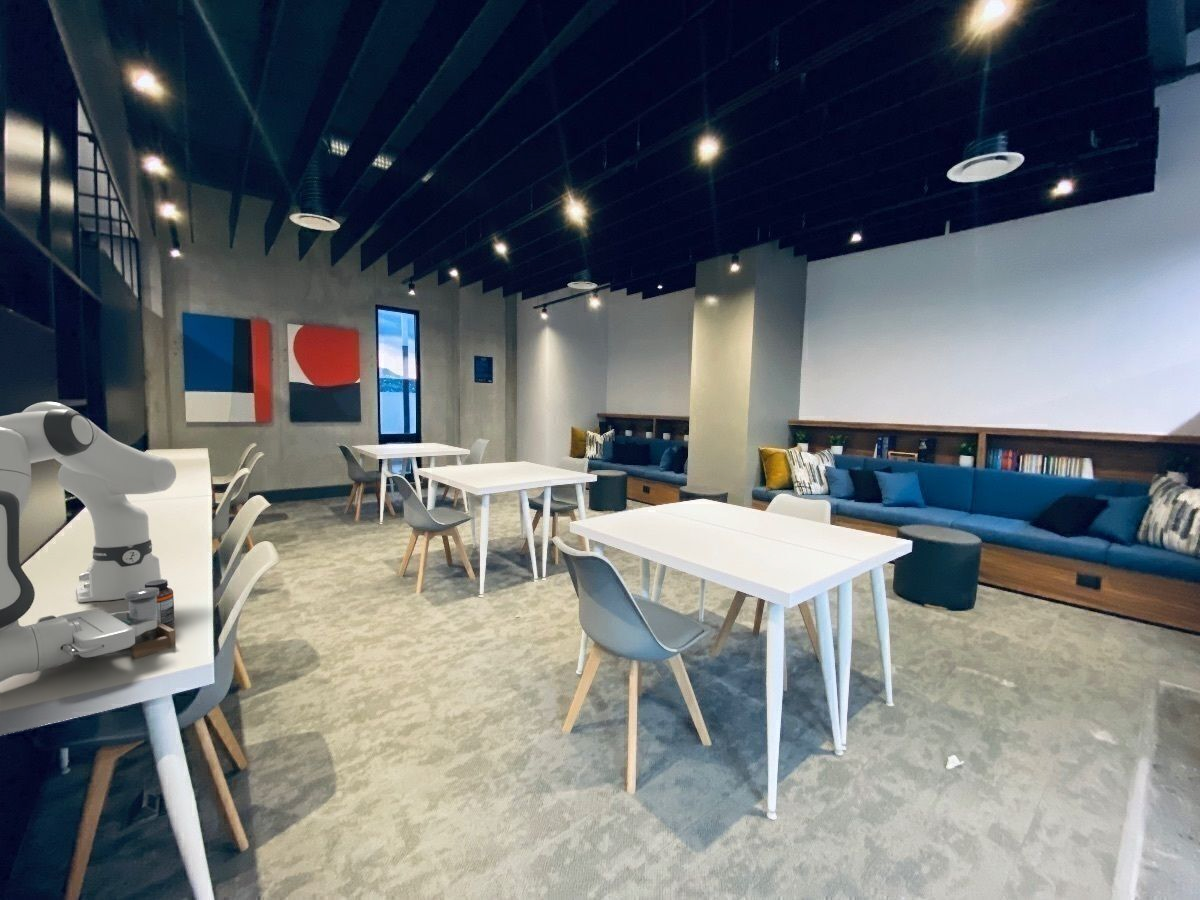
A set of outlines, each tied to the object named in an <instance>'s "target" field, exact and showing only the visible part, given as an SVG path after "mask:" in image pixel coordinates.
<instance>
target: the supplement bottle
mask: <svg viewBox="0 0 1200 900" xmlns="http://www.w3.org/2000/svg"><path fill="white" fill-rule="evenodd" d="M168 583H169V582H168V579H167V580H154V581H150V582H147V583H145V588H151V587H155V588H159V595H157V596H156V600H157V621H158V622H160V623H162V624H164V625H166V626H168V627H170V628H172V627H173V626H174V625H175V604H174V603H175V601H174V590H173V589H172V588H171V587H168V586H169V584H168Z"/></svg>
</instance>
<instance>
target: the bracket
mask: <svg viewBox="0 0 1200 900" xmlns="http://www.w3.org/2000/svg"><path fill="white" fill-rule="evenodd" d="M157 622H158V621H157ZM173 647H176V630H175V629H174V628H172V627H171V628H170V627H168V626H166V625H164V624H162V623H160V622H158V638H157V639H153V640H150V641H146V642H143V643H140V644H136V645H133V646H132V652H131V657H132V658H133V659H134V660H135V659H139V658H142V657H145V656H148V655H151V654H155V653H158V652H161V651H164V650H168V649H171V648H173ZM129 648H130V649H131V647H128V648H126V649H129ZM126 649H122V650H121V651H123V650H126Z"/></svg>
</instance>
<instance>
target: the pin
mask: <svg viewBox="0 0 1200 900" xmlns="http://www.w3.org/2000/svg"><path fill="white" fill-rule="evenodd" d="M157 595H159V588H155V587H151V588H142V589H137V590H133V591H130V592H128V593H126V594H125V598H124V600H125V601H128V611H129V618H130V626H131V625H137V624H140V623H143V621H146V620H150V619H154V620H156V621H157V600H156V596H157ZM157 638H158V622H157V627H156V628H155V629H151V630H148V631H146V632H144V633H142V634H140V635H138V636H135V644H134V645H136V644H140V643H143V642H146V641H150V640H153V639H157ZM132 646H133V645H132ZM132 646H131V647H130V651H131V653H132Z"/></svg>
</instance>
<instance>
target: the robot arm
mask: <svg viewBox="0 0 1200 900" xmlns="http://www.w3.org/2000/svg"><path fill="white" fill-rule="evenodd" d="M53 459H54V460H55V461H57V462H58V463H59V464H61V466H60V468H59V470H58V473H57V474H58V475H57V478H58V483H59V484H60V486H61V487H62V488H63V489H64V491H66V492H67V493H71V494H72V495H74V496H75V497H76V498H77V499H78V500H79V501H81V503H82V504H83V505H84V506H85V508H86V509H87V511H88V512H89V514H90V517H91V520H92V527H93V533H94V546H93V548H92V559H93V561H92V562H91V563H90V564H89V566H88V567H87V569H86V572H83V573H79V574H78V578H79V579H78V581H79V583H83V582H84V583H83V584H82V585H78V586H76V587H75V588H76V589H75V591H76V597H77V601H78V603H85V602H86V603H88V602H97V601H103V602H105V601H113V600H114V601H115V600H121V599H125V594H126V593H128V592H130V591H133V590H137V589H142V588H145V583H147V582H150V581H154V580H167V581H168V579H166V578H162V575H161V568H160V566H161V565H160V559H159V557H158V556H156V555H154V554H153V553H152V552H153V543H152V540H151V539H150V528H149V515H148V514H147V512H146V511H145V510H144V509H142V508H140V507H137V506H135V505H134V504H132V503H131V502H130V501H129V500H128V498H127V496H126V495H148V494H154V493H159V492H164V491H167V490H169V489H170V488H171V487H172V486H173V484H174V482H175V481H176V478H177V470H176V467H175V465H174V463H173V462H172V461H171V460H170V459H169V458H165V457H162V456H158V455H153V454H150V453H147V452H145V451H142V450H139V449H137V448H135V447H132V446H129V445H128V444H125V443H123V442H120V441H118V440H117V439H114V438H113V437H111V436H110V435H109V434H108V433H106V432H105V431H104V430H102V429H101V428H100V427H99V426H98V425H96V424H95V423H94V422H92V420H90V419H89V418H88V417H86V416H85V415H83V414H81V413H79V411H77V410H74V409H73V408H71V407H69V406H67V405H65V404H63V403H60V402H54V401H41V402H37V403H34V404H32V405H30V406H29V405H28V407H26V408H25V409H24V410H23V411H21V412H16V413H11V414H7V415H1V416H0V683H2V682H4V681H6V680H8V679H10V678H13V677H16V676H20V675H27V674H28V675H29V674H33V673H36V672H41V671H44V670H47V669H49V668H54V667H58V666H61V665H64V664H67V663H70V662H71V661H72V660H73V657H74V656H80V657H81V658H86V659H87V658H92V657H97V656H98V657H99V656H102V655H105V654H109V653H110V654H111V653H114V652H118V651H123V650H122V649H124V650H126V648H127V649H129V648H128V647H130V648H131V646H132V645H134V644H135V636H138V635H140V634H142V633H144V632H146V631H148V630H151V629H155V628H156V627H157V621H156V620H154V619H150V620H146V621H143V623H140V624H137V625H131V626H129V625H127V624H125V623H124V622H122V621H126V620H128V621H130V618H129V610H127V611H118V612H117V611H116V612H110V613H108V612H107V611H105V610H103V609H101V608H100V609H99V608H98V609H97V608H96V609H94V608H93V609H87V610H82V611H76V612H70V613H67V614H61V615H58V616H55V615H47V616H43V617H42V616H41V617H40V618H38V619H37V621H36V622H35V623H32V624H28V625H24V626H22V625H20V623H19V619H20V618H22V617H23V616H24V615H26V614H27V612H28V611H29V610H30V608H31V607H32V606H33V603H34V601H35V595H36V593H35V591H36V590H35V587H34V586H33V583H32V581H31V580H30V578H29V576H28V575H27V574H26V573H25V571H24V569H23V568H22V565H21V562H20V521H21V519H22V517H23V515H24V513H25V510H26V508H27V505H28V502H29V499H30V494H31V488H32V464H35V463H39V462H43V461H48V460H53ZM85 582H86V583H85ZM77 654H78V655H77Z"/></svg>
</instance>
